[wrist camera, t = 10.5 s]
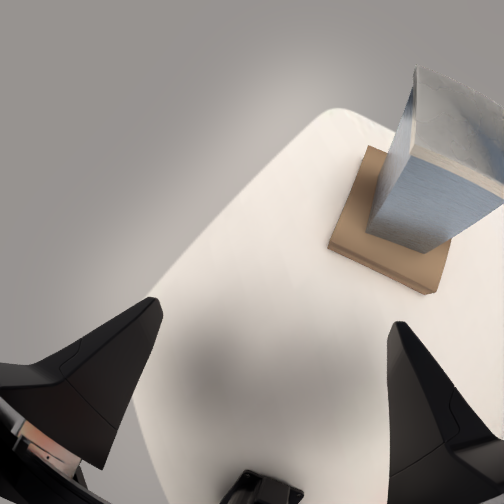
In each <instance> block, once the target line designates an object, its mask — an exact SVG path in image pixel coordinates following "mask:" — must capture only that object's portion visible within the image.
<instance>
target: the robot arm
mask: <svg viewBox="0 0 504 504" xmlns="http://www.w3.org/2000/svg"><path fill="white" fill-rule="evenodd" d="M162 319H163V311H162V308H161V305H160V302H159V300H158V299H157V298H154V297H147V298H145V299H144V300H142V301H140V302H139V303H137V304H135V305H134V306H132V307H130V308H129V309H127V310H126V311H124V312H122V313H121V314H119V315H118V316H116V317H114V318H113V319H111V320H109V321H108V322H106V323H104V324H103V325H101V326H100V327H98V328H96V329H95V330H93V331H92V332H90V333H89V334H87V335H85V336H83V337H82V338H80V339H79V340H77V341H75V342H74V343H72V344H70V345H69V346H67V347H65V348H63V349H62V350H60V351H58V352H56V353H54V354H52V355H50V356H48V357H46V358H45V359H43V360H41V361H39V362H37V363H34V364H31V365H17V364H8V363H0V497H2V498H5V499H7V500H9V501H11V502H14V503H16V504H111V503H109V502H108V501H106V500H104V499H103V498H101V497H99V496H97V495H96V494H94V493H92V492H91V491H89V490H88V488H87V485H86V482H85V479H84V476H83V473H82V470H81V467H80V466H79V465H80V463H81V461H82V460H84V461H86V462H88V463H89V464H91V465H93V466H94V467H96V468H98V469H100V470H103V468H104V465H105V463H106V460H107V457H108V455H109V452H110V449H111V446H112V444H113V441H114V439H115V436H116V434H117V430H118V428H119V426H120V423H121V421H122V418H123V416H124V413H125V411H126V409H127V406H128V404H129V402H130V399H131V397H132V395H133V392H134V390H135V387H136V385H137V383H138V381H139V378H140V376H141V374H142V371H143V369H144V367H145V365H146V362H147V360H148V358H149V356H150V354H151V351H152V349H153V346H154V343H155V340H156V337H157V334H158V331H159V328H160V325H161V322H162ZM387 387H388V401H389V421H390V470H389V477H390V478H389V487H388V500H387V504H504V440H501V439H499V438H498V437H496V436H495V435H494V434H493V433H492V432H491V431H490V430H489V429H488V427H487V426H486V425H485V424H484V423H483V421H482V420H481V419H480V418H479V417H478V415H477V414H476V413H475V412H474V411H473V409H472V408H471V407H470V406H469V404H468V403H467V402H466V401H465V399H464V398H463V396H462V395H461V394H460V392H459V391H458V390H457V388H456V387H454V384H453V383H452V381H451V380H450V379H449V377H448V376H447V375H446V373H445V372H444V370H443V369H442V368H441V366H440V365H439V364H438V362H437V361H436V360H435V359H434V357H433V356H432V355H431V353H430V352H429V351H428V350H427V348H426V347H425V346H424V344H423V343H422V342H421V341H420V339H419V338H418V337H417V336H416V334H415V333H414V332H413V331H412V330H411V328H410V327H409V326H408V325H407V323H406V322H403V321H396V322H394V323H393V325H392V328H391V330H390V333H389V335H388V339H387ZM246 474H249V475H250V476H247V475H246ZM298 494H300V496H298ZM303 497H304V492H303V491H301V490H298V489H295V488H292V487H289V486H288V485H285V484H282V483H280V482H277V481H275V480H272V479H270V478H267V477H264V476H261V475H259V474H257V473H254V472H252V471H249V470H245V471H244V472H243V473H242V474H241V476H240V477H239V479H238V480H237V481H236V483H235V484H234V485H233V487H232V488H231V489H230V490H229V492H228V493H227V494H226V496H225V497H224V498H223V499H222V501H221V502H220V504H298V503H299V502H300V501H301V500H302V498H303Z"/></svg>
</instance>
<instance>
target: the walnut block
mask: <svg viewBox="0 0 504 504" xmlns="http://www.w3.org/2000/svg"><path fill="white" fill-rule="evenodd" d="M387 154H388V153H386V152H383V151H381V150H379V149H376V148H374V147H372V146H369V145H368V147H367V150H366V153H365V155H364V158H363V161H362V163H361V166H360V169H359V171H358V174H357V176H356V179H355V182H354V184H353V187H352V189H351V192H350V194H349V197H348V199H347V201H346V204H345V206H344V209H343V211H342V213H341V216H340V218H339V220H338V223H337V225H336V227H335V230H334V232H333V234H332V237H331V239H330V241H329V245H328V249H330V250H332V251H334V252H337V253H339V254H341V255H343V256H345V257H347V258H350V259H352V260H354V261H356V262H358V263H360V264H362V265H364V266H366V267H369V268H371V269H373V270H375V271H377V272H379V273H381V274H383V275H385V276H387V277H389V278H391V279H393V280H395V281H398V282H400V283H402V284H404V285H406V286H408V287H410V288H412V289H414V290H416V291H418V292H420V293H422V294H424V295H426V294H431V293H435V292H436V291H437V288H438V285H439V282H440V279H441V276H442V272H443V269H444V266H445V262H446V258H447V255H448V251H449V247H450V243H451V239H452V238H451V239H449V240H448V241H446V242H444V243H443V244H441V245H439V246H438V247H436V248H434V249H433V250H431V251H429V252H427V253H426V254H423V253H420V252H417V251H415V250H412V249H409V248H407V247H404V246H401V245H399V244H396V243H393V242H390V241H388V240H385V239H382V238H379V237H376V236H373V235H371V234H368V233H365V231H366V227H367V223H368V219H369V215H370V211H371V207H372V202H373V198H374V194H375V189H376V185H377V180H378V175H379V173H380V170H381V168H382V166H383V163H384V161H385V159H386V156H387Z"/></svg>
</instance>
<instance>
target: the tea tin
mask: <svg viewBox="0 0 504 504" xmlns="http://www.w3.org/2000/svg"><path fill="white" fill-rule="evenodd" d="M503 203H504V107H503V106H501V105H500V104H498V103H496V102H494V101H493V100H491V99H490V98H488V97H486V96H484V95H483V94H481V93H479V92H477V91H475V90H473V89H471V88H469V87H467V86H465V85H463V84H461V83H459V82H457V81H455V80H453V79H451V78H449V77H446V76H444V75H442V74H440V73H437V72H435V71H433V70H430V69H428V68H425V67H422V66H420V65H417V64H416V67H415V70H414V74H413V87H412V90H411V93H410V96H409V99H408V102H407V104H406V107H405V110H404V113H403V115H402V118H401V121H400V124H399V126H398V129H397V131H396V134H395V136H394V139H393V141H392V144H391V146H390V149H389V151H388V154H387V156H386V159H385V161H384V163H383V166H382V168H381V170H380V173H379V175H378V180H377V185H376V189H375V194H374V198H373V202H372V207H371V211H370V215H369V219H368V223H367V227H366V231H365V233H368V234H371V235H373V236H376V237H379V238H382V239H385V240H388V241H390V242H393V243H396V244H399V245H401V246H404V247H407V248H409V249H412V250H415V251H417V252H420V253H423V254H426V253H427V252H429V251H431V250H433V249H434V248H436V247H438V246H439V245H441V244H443V243H444V242H446V241H448V240H449V239H451V238H452V237H454V236H456V235H457V234H459V233H460V232H462V231H463V230H465V229H467V228H468V227H470V226H471V225H473V224H474V223H476V222H477V221H479V220H480V219H482V218H483V217H485V216H486V215H488V214H489V213H491V212H492V211H493V210H495V209H496V208H498V207H499V206H501V205H502V204H503Z"/></svg>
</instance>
